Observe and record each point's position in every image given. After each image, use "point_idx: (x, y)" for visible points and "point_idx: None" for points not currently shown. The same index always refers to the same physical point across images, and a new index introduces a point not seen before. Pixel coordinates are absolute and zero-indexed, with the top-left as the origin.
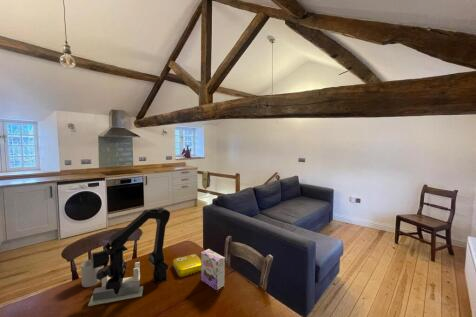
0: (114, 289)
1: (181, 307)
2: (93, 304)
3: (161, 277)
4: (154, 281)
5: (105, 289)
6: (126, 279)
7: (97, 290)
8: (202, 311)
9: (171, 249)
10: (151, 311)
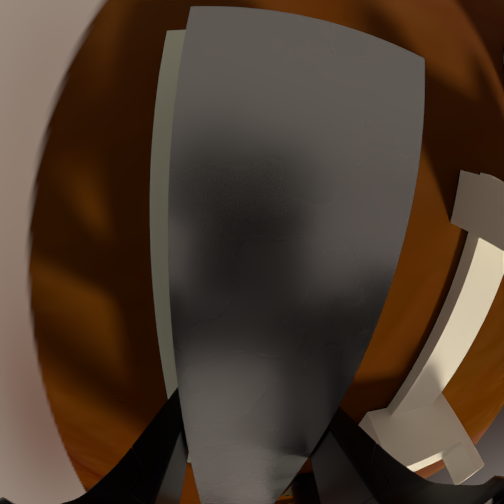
0: (135, 452)
1: (97, 482)
2: (161, 93)
3: (293, 501)
4: (298, 480)
5: (253, 314)
6: (442, 370)
7: (299, 105)
8: (87, 489)
9: (478, 433)
10: (67, 444)
